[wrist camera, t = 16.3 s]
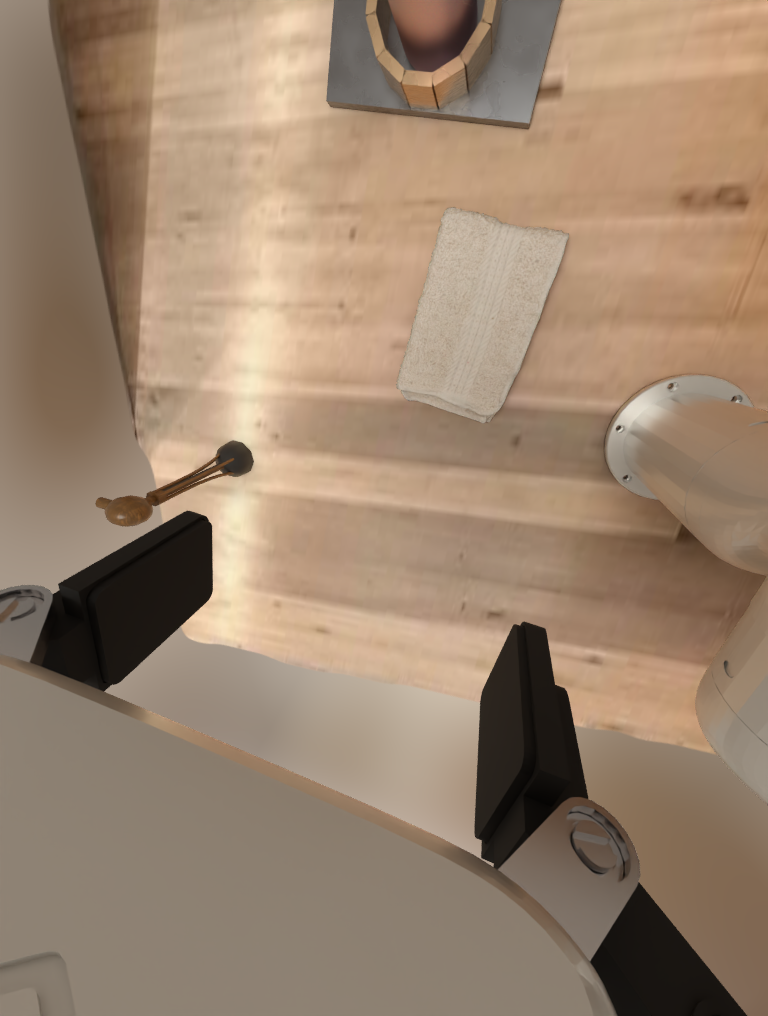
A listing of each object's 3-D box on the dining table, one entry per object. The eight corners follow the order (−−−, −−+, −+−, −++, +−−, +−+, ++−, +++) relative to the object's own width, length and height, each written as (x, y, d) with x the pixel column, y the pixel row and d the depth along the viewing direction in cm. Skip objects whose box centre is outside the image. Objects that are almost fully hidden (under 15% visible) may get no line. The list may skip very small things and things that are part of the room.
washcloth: (396, 394, 45) (390, 398, 42) (444, 207, 37) (440, 196, 34) (496, 424, 43) (496, 430, 41) (568, 236, 35) (575, 228, 32)
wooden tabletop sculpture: (216, 467, 55) (85, 530, 37) (215, 436, 53) (75, 487, 35) (253, 477, 54) (137, 546, 36) (253, 445, 52) (130, 503, 34)
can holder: (574, -52, 28) (587, -115, 24) (528, 128, 33) (532, 100, 29) (344, -61, 31) (322, -119, 27) (330, 106, 35) (309, 78, 31)
